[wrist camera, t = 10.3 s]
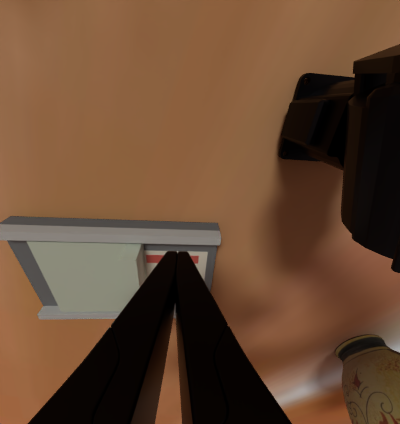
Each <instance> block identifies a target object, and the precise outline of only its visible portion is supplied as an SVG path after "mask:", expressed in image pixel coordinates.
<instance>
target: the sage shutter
mask: <svg viewBox="0 0 400 424" xmlns="http://www.w3.org/2000/svg"><path fill="white" fill-rule="evenodd" d="M27 244H28V246H29V248H30V250H31V252H32V254H33V256H34V258H35V260H36V262H37V264H38V266H39V268H40V270H41V272H42V274H43V276H44V278H45V280H46V282H47V284H48V286H49V288H50V290H51V292H52V294H53V296H54V298H55V300H56V302H57V304H58V306H59V308H60V310H61V312H96V311H122V310H123V309H124V307H125V306H126V305H127V303H128V302H129V301H130V299H131V298H132V297H133V296H134V294H135V293H136V292H137V290H138V289H139V288H140V286H141V285H142V284H143V282H144V281H145V280H146V278H147V275H146V265H145V255H144V245H143V243H101V242H58V241H27Z"/></svg>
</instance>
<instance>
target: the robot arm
mask: <svg viewBox="0 0 400 424" xmlns="http://www.w3.org/2000/svg"><path fill="white" fill-rule="evenodd" d="M353 74H355V78H353V77H344V76H334V75H324V74H315V73H306V74H303V75H302V76H301V77H300V78H299V81H298V84H297V88H296V91H295V95H294V99H293V101H292V102H291V103H290V105H289V109H288V113H287V116H286V120H285V124H284V127H283V131H282V136H283V138H282V142H281V146H280V149H279V157H281V158H282V159H292V160H308V161H322V162H325V163H327V164H329V165H332V166H334V167H336V168H339V169H341V170H344V171H343V186H342V201H341V218H342V222H343V224H344V225H345V226H346V228H347V229H348V230H349V232H350V233H352V239H353V240H354V241H356V242H357V243H359V244H360V245H362V246H364V247H365V248H367V249H369V250H372V251H374V252H376V253H378V254H381V255H383V256H385V257H388V258H391V259H393V262H392V266H391V269H392V270H393V271H395V272H397V273H400V44H399V45H396V46H394V47H391V48H388V49H386V50H383V51H380V52H378V53H375V54H372V55H370V56H367V57H364V58H362V59H359V60H356V61H354V64H353ZM305 78H307V79H308V82H307V84H306V85H305V84H304V80H305ZM284 151H287V152H286V154H285V155H283V153H284ZM174 310H175V315H176V331H177V347H178V364H179V380H180V396H181V413H182V424H292V423H291V422H290V420H289V419H288V417H287V416H286V414H285V413H284V411H283V410H282V408H281V407H280V406H279V404H278V403H277V401H276V400H275V398H274V397H273V395H272V394H271V392H270V391H269V390H268V388H267V387H266V385H265V384H264V382H263V381H262V379H261V378H260V376H259V375H258V373H257V372H256V370H255V369H254V367H253V366H252V364H251V363H250V361H249V360H248V358H247V357H246V355H245V353H244V352H243V350H242V348H241V346H240V345H239V343H238V341H237V340H236V338H235V336H234V334H233V332H232V331H231V329H230V327H229V326H227V325H228V324H227V322H226V320H225V318H224V316H223V314H222V313H221V311H220V309H219V307H218V305H217V304H216V302H215V300H214V298H213V296H212V294H211V293H210V291H209V289H208V287H207V285H206V283H205V282H204V280H203V278H202V276H201V274H200V273H199V271H198V269H197V267H196V265H195V263H194V262H193V260H192V258H191V256H190V254H189V253H188V252H187V251H179V252H178V253H177V251H167V252H166V253H165V255H164V256H163V257H162V258H161V260H160V261H159V262H158V264H157V265H156V266H155V268H154V269H153V270H152V272H151V273H150V274H149V276H148V277H147V278H146V280H145V281H144V282H143V284H142V285H141V286H140V288H139V289H138V290H137V292H136V293H135V294H134V296H133V297H132V298H131V299H130V301H129V302H128V303H127V305H126V306H125V307H124V309H123V310H122V311H121V313H120V314H119V315H118V317H117V318H116V319H115V321H114V322H113V323H112V325H111V327H110V328H108V330H107V331H106V332H105V334H104V335H103V336H102V338H101V339H100V340H99V342H98V343H97V344H96V345H95V347H94V348H93V349H92V350H91V352H90V353H89V354H88V355H87V357H86V358H85V359H84V360H83V362H82V363H81V364H80V365H79V366H78V367H77V369H76V370H75V371H74V372H73V373H72V374H71V376H70V377H69V378H68V379H67V380H66V381H65V382H64V384H63V385H62V386H61V387H60V388H59V389H58V390H57V391H56V393H55V394H54V395H53V396H52V397H51V398H50V399H49V400H48V402H47V403H46V404H45V405H44V406H43V407H42V408H41V409H40V410H39V412H38V413H37V414H36V415H35V416H34V417H33V418H32V419H31V421H30V422H29V423H28V424H155V419H156V413H157V408H158V402H159V396H160V391H161V385H162V379H163V374H164V368H165V362H166V356H167V351H168V345H169V339H170V334H171V328H172V322H173V316H174Z"/></svg>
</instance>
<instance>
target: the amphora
mask: <svg viewBox="0 0 400 424" xmlns="http://www.w3.org/2000/svg"><path fill="white" fill-rule="evenodd" d="M336 356H337V357H338V358H340V359H341V360H342V362H343V373H342V388H343V394H344V400H345V403H346V407H347V410H348V413H349V416H350V419H351V422H352V424H400V353H399V352H396V351H394V350H392V349H390V348H389V347H388V346H386V344H385V342H384V340H383V339H382V338H381V337H379V336H377V335H365V336H360V337H356V338H353V339H350V340H348V341H346V342H344V343H343V344H341V345H340V346H339V347H338V348H337V350H336Z"/></svg>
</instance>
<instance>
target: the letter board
mask: <svg viewBox="0 0 400 424" xmlns="http://www.w3.org/2000/svg"><path fill="white" fill-rule="evenodd" d="M0 240H7V241H8V243H9V245H10V247H11V249H12V250H13V252H14V254H15V256H16V258H17V259H18V261H19V263H20V265H21V266H22V268H23V270H24V272H25V274H26V275H27V277H28V279H29V281H30V283H31V284H32V286H33V288H34V290H35V292H36V293H37V295H38V297H39V299H40V301H41V302H42V304H43V307H42V309H41V310H40V311H39V313H38V314H37V315H38V317H39V319H116V318H117V317H118V315H119V314H120V313H121V311H96V312H61V310H60V308H59V306H58V304H57V302H56V300H55V298H54V296H53V294H52V292H51V290H50V288H49V286H48V284H47V282H46V280H45V278H44V276H43V274H42V272H41V270H40V268H39V266H38V264H37V262H36V260H35V258H34V256H33V254H32V252H31V250H30V248H29V246H28V244H27V241H58V242H101V243H143V245H144V255H145V265H146V275H147V277H148V276H149V274H150V273H151V272H152V270H153V269H154V268H155V266H156V265H157V264H158V262H159V261H160V260H161V258H162V257H163V256H164V255H165V253H166V252H167V251H177V253H178V252H179V251H187V252H188V253H189V254H190V256H191V258H192V260H193V262H194V263H195V265H196V267H197V269H198V271H199V273H200V274H201V276H202V278H203V280H204V282H205V283H206V285H207V287H208V289H209V291H210V290H211V284H212V277H213V271H214V264H215V258H216V251H217V245H220V243H221V234H220V230H219V226H218V223H200V222H170V221H140V220H109V219H79V218H49V217H19V216H10V217H9V218H7V219H5V220H4V221H2V222H1V223H0ZM173 318H176V315H175V310H174V316H173Z"/></svg>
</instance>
